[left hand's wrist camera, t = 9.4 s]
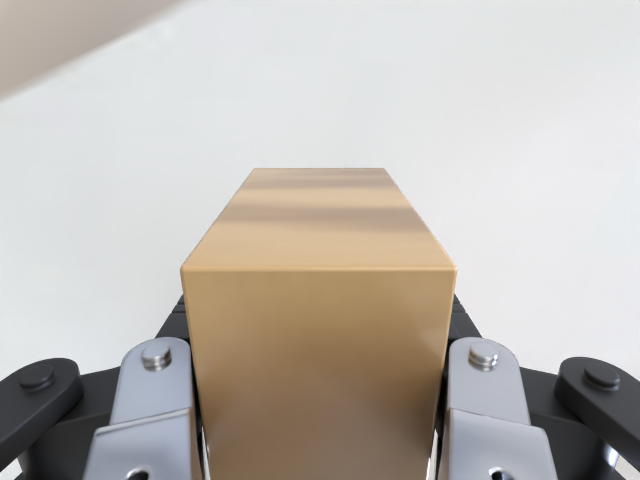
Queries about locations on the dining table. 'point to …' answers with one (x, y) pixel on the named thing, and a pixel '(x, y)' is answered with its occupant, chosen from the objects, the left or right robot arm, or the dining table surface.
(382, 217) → the bar
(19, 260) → the dining table surface
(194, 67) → the dining table surface
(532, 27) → the dining table surface
